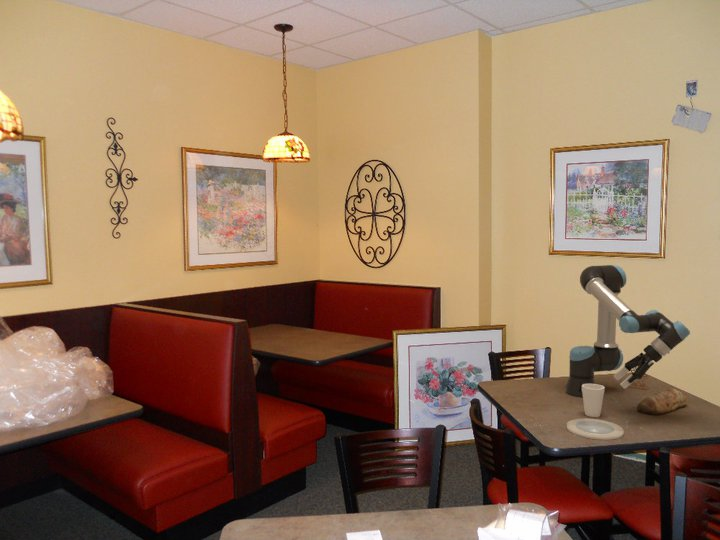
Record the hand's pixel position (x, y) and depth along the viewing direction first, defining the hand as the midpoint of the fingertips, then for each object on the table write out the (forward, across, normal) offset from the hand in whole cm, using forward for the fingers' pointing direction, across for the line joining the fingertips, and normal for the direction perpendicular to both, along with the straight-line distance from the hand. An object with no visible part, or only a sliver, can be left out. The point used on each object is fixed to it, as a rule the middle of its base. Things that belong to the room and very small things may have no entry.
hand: (618, 382), depth 257 cm
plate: (+20, -20, -2) cm, 29 cm away
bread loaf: (-4, +16, -27) cm, 32 cm away
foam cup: (+19, 0, -4) cm, 19 cm away
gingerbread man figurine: (-3, +49, -25) cm, 55 cm away
